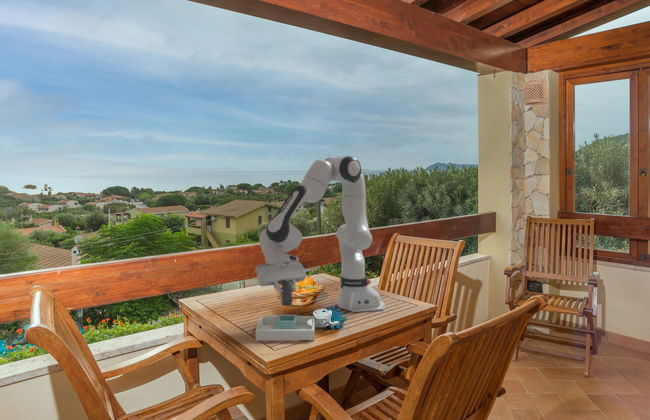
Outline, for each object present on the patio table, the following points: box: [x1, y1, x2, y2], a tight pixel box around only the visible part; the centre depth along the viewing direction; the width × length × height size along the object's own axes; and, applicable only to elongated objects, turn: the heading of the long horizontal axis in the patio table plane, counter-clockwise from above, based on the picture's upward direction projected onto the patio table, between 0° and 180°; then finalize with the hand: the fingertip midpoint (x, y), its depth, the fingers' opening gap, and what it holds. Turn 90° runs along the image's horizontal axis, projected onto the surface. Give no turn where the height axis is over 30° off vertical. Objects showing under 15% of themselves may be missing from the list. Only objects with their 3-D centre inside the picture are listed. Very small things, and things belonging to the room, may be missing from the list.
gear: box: [321, 305, 348, 330], centre depth 171 cm, size 11×6×10 cm
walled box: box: [255, 314, 316, 342], centre depth 162 cm, size 22×16×5 cm
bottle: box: [281, 279, 293, 307], centre depth 163 cm, size 4×4×10 cm
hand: (287, 291), depth 163 cm, fingers closed on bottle, 4 cm apart
